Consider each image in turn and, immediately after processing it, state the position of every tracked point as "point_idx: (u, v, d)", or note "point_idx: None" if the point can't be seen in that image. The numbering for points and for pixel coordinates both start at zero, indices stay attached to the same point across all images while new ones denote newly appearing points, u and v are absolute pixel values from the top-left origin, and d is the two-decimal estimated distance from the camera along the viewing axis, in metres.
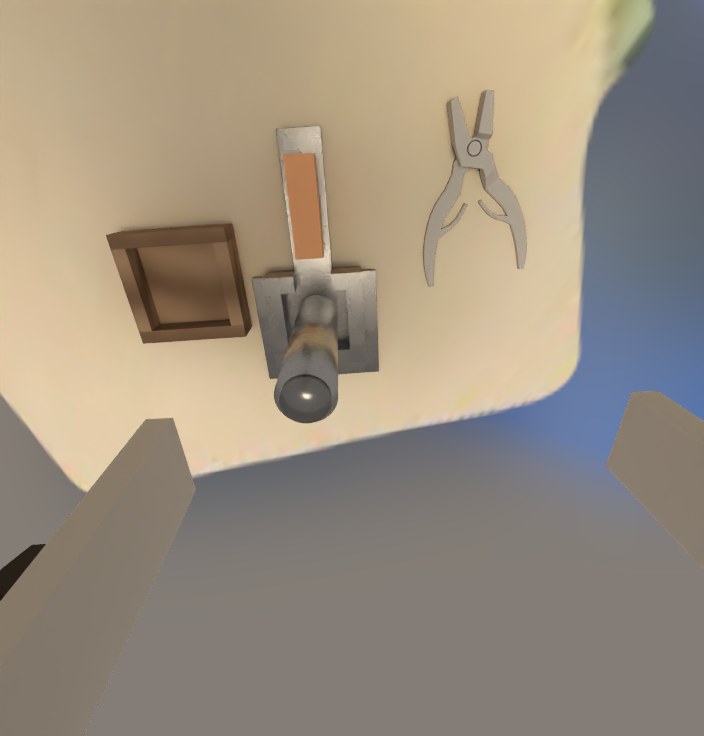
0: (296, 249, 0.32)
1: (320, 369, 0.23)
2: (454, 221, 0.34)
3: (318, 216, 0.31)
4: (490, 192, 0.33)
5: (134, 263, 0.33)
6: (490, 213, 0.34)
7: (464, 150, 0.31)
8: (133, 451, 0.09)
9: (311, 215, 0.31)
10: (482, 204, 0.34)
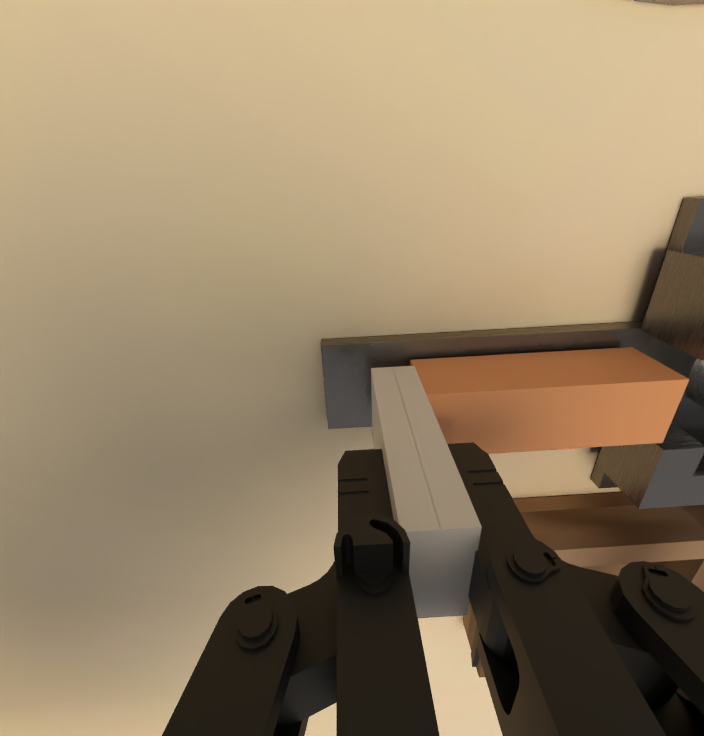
0: (638, 440, 0.12)
1: None
2: None
3: (576, 386, 0.11)
4: None
5: None
6: None
7: None
8: (385, 388, 0.11)
9: (568, 404, 0.11)
10: None
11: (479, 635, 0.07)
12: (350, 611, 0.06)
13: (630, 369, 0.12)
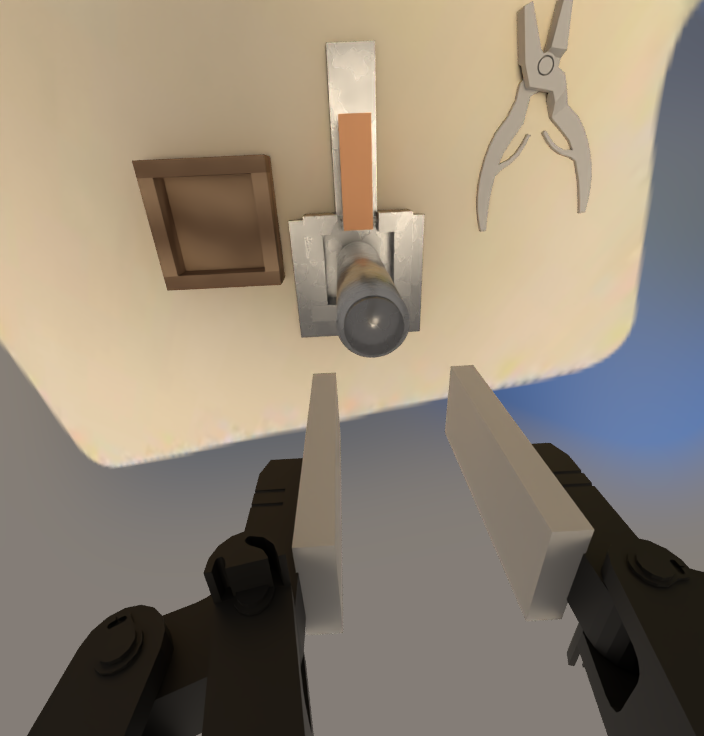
0: (345, 219, 0.30)
1: (391, 290, 0.20)
2: (514, 155, 0.31)
3: (371, 183, 0.29)
4: (556, 121, 0.30)
5: (161, 197, 0.30)
6: (554, 146, 0.31)
7: (534, 67, 0.28)
8: (321, 394, 0.11)
9: (364, 181, 0.29)
10: (546, 135, 0.30)
11: (582, 633, 0.07)
12: (225, 637, 0.05)
13: None
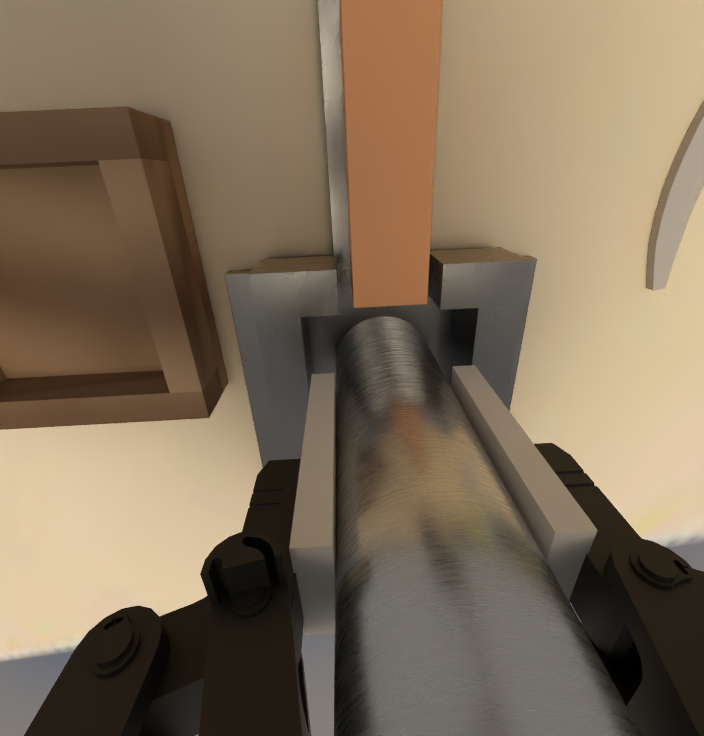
0: (358, 281, 0.12)
1: None
2: None
3: (429, 189, 0.11)
4: None
5: None
6: None
7: None
8: (320, 395, 0.11)
9: (410, 184, 0.10)
10: None
11: None
12: (222, 638, 0.05)
13: None
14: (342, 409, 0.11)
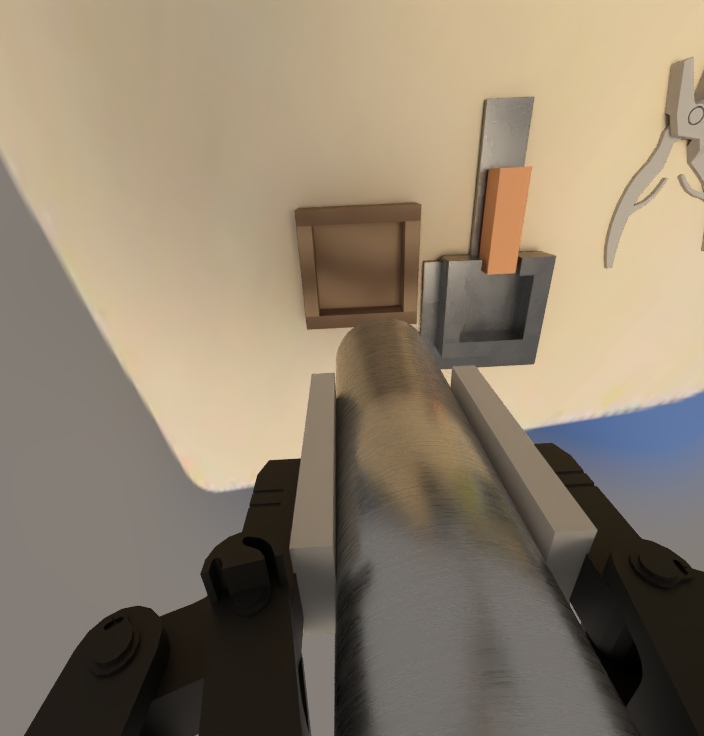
0: (490, 264, 0.31)
1: None
2: (649, 197, 0.32)
3: (520, 231, 0.30)
4: (695, 166, 0.31)
5: (313, 243, 0.31)
6: (689, 189, 0.32)
7: (685, 117, 0.29)
8: (320, 395, 0.11)
9: (514, 229, 0.30)
10: (683, 179, 0.31)
11: (585, 633, 0.07)
12: (222, 638, 0.05)
13: None
14: (342, 410, 0.11)
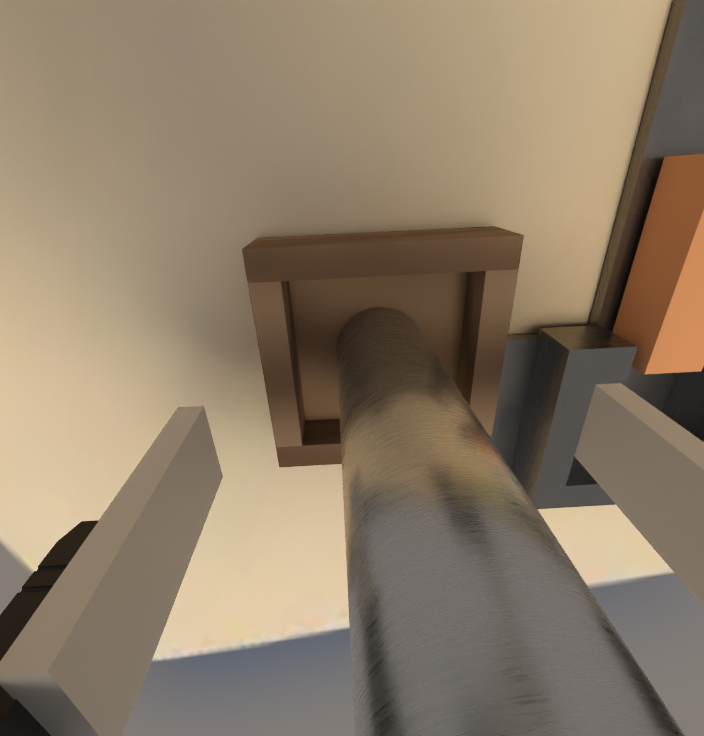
0: (655, 355, 0.15)
1: None
2: None
3: None
4: None
5: (287, 311, 0.15)
6: None
7: None
8: (170, 436, 0.09)
9: None
10: None
11: None
12: None
13: None
14: (345, 386, 0.12)
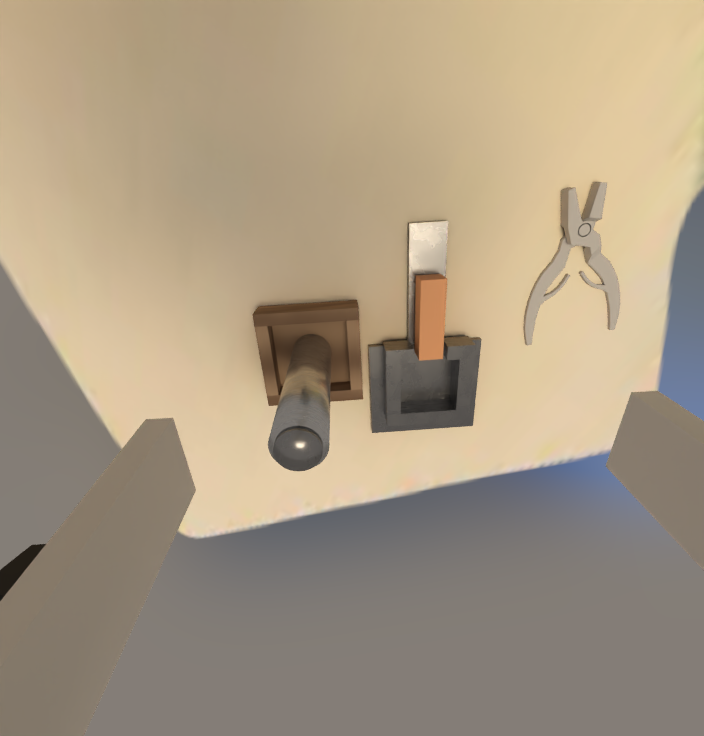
0: (420, 352, 0.37)
1: (312, 420, 0.24)
2: (556, 289, 0.38)
3: (443, 326, 0.36)
4: (591, 265, 0.37)
5: (270, 337, 0.37)
6: (589, 282, 0.37)
7: (575, 231, 0.34)
8: (133, 451, 0.09)
9: (438, 325, 0.36)
10: (583, 275, 0.37)
11: None
12: None
13: None
14: (289, 365, 0.34)
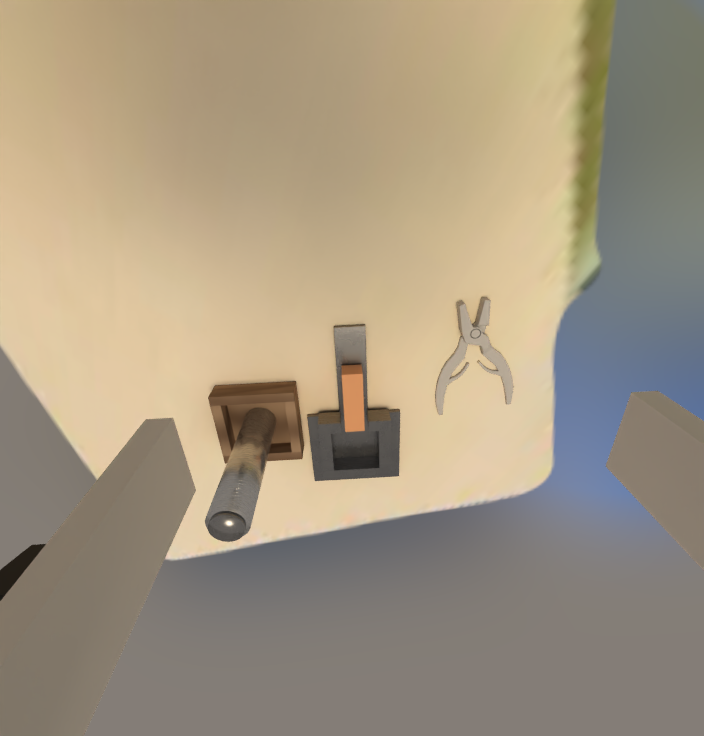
0: (346, 426, 0.45)
1: (237, 506, 0.33)
2: (459, 374, 0.46)
3: (363, 407, 0.44)
4: (486, 356, 0.45)
5: (224, 411, 0.45)
6: (486, 369, 0.46)
7: (468, 334, 0.43)
8: (133, 451, 0.09)
9: (358, 407, 0.44)
10: (480, 364, 0.45)
11: None
12: None
13: None
14: None
